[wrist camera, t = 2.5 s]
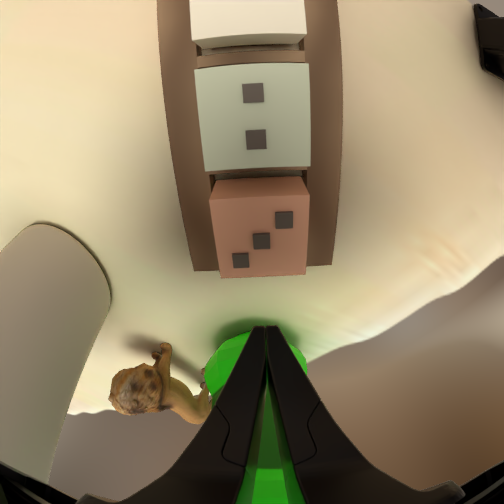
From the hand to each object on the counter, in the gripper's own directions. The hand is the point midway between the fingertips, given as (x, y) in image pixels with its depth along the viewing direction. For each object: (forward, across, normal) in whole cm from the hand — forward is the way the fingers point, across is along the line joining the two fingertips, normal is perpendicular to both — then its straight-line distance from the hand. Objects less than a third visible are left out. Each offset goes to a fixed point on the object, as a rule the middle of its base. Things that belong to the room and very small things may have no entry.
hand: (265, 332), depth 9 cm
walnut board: (+11, 0, -6) cm, 13 cm away
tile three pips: (+9, 0, 0) cm, 9 cm away
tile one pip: (+9, 0, -13) cm, 16 cm away
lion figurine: (+11, +10, +19) cm, 25 cm away
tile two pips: (+9, 0, -6) cm, 11 cm away
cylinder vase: (+11, +20, +6) cm, 24 cm away
